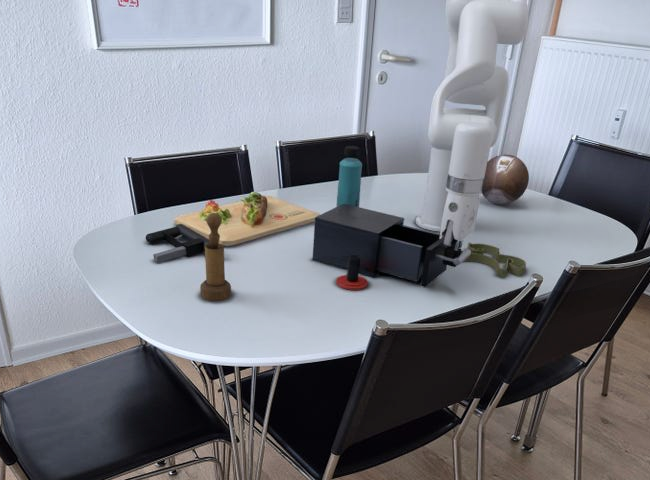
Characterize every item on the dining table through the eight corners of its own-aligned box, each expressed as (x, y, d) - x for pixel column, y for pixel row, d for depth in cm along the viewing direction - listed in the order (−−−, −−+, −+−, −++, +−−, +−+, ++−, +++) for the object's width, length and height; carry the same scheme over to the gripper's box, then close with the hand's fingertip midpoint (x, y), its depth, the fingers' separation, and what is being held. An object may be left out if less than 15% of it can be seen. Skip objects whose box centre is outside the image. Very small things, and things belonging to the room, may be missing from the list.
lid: (357, 275, 152) (359, 249, 149) (373, 287, 147) (376, 260, 144) (330, 279, 149) (332, 253, 146) (346, 292, 144) (348, 265, 141)
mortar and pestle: (201, 288, 142) (198, 208, 133) (231, 288, 143) (230, 208, 133) (199, 301, 136) (196, 218, 127) (230, 302, 137) (230, 219, 128)
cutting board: (226, 249, 162) (225, 220, 158) (171, 223, 176) (169, 196, 172) (322, 220, 184) (324, 194, 180) (267, 200, 198) (267, 175, 194)
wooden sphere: (474, 207, 202) (483, 158, 194) (474, 193, 214) (483, 147, 206) (524, 213, 199) (535, 163, 191) (521, 199, 212) (531, 152, 204)
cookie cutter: (446, 257, 165) (448, 249, 164) (474, 247, 172) (475, 240, 171) (508, 281, 154) (510, 273, 153) (535, 269, 161) (536, 261, 160)
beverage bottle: (356, 222, 184) (363, 150, 174) (333, 220, 185) (338, 148, 175) (359, 215, 189) (366, 145, 179) (337, 213, 190) (342, 143, 180)
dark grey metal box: (398, 259, 162) (404, 217, 156) (373, 277, 152) (378, 233, 146) (340, 244, 169) (343, 203, 164) (312, 260, 159) (314, 217, 153)
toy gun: (168, 261, 148) (228, 244, 156) (128, 235, 161) (185, 220, 169) (170, 275, 149) (228, 257, 158) (130, 247, 162) (187, 232, 171)
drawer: (470, 276, 153) (477, 240, 148) (450, 294, 143) (457, 256, 139) (387, 254, 162) (391, 219, 157) (363, 269, 153) (367, 233, 148)
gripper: (469, 195, 131) (453, 279, 140) (493, 180, 142) (477, 259, 151) (434, 188, 134) (421, 270, 143) (460, 173, 145) (447, 251, 154)
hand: (450, 264), depth 147 cm, fingers closed
